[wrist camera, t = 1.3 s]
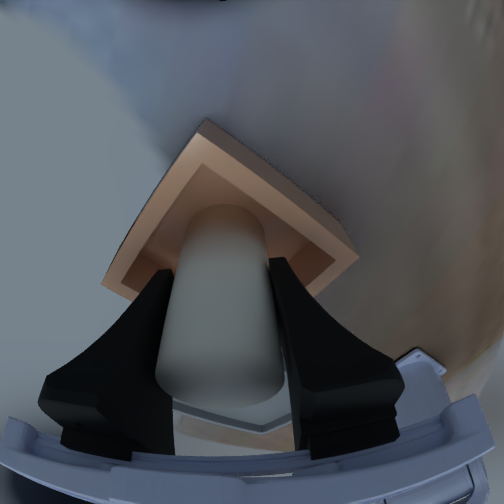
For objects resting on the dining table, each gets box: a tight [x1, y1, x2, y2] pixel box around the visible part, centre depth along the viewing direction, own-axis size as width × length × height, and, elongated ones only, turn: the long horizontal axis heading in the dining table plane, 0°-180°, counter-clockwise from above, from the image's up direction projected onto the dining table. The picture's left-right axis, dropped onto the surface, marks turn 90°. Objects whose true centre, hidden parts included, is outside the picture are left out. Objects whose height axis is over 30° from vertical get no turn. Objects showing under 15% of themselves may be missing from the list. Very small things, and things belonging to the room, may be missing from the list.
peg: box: [155, 204, 285, 409], centre depth 12 cm, size 4×4×8 cm
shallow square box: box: [101, 118, 360, 302], centre depth 14 cm, size 9×9×3 cm
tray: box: [173, 355, 292, 435], centre depth 24 cm, size 16×12×2 cm
